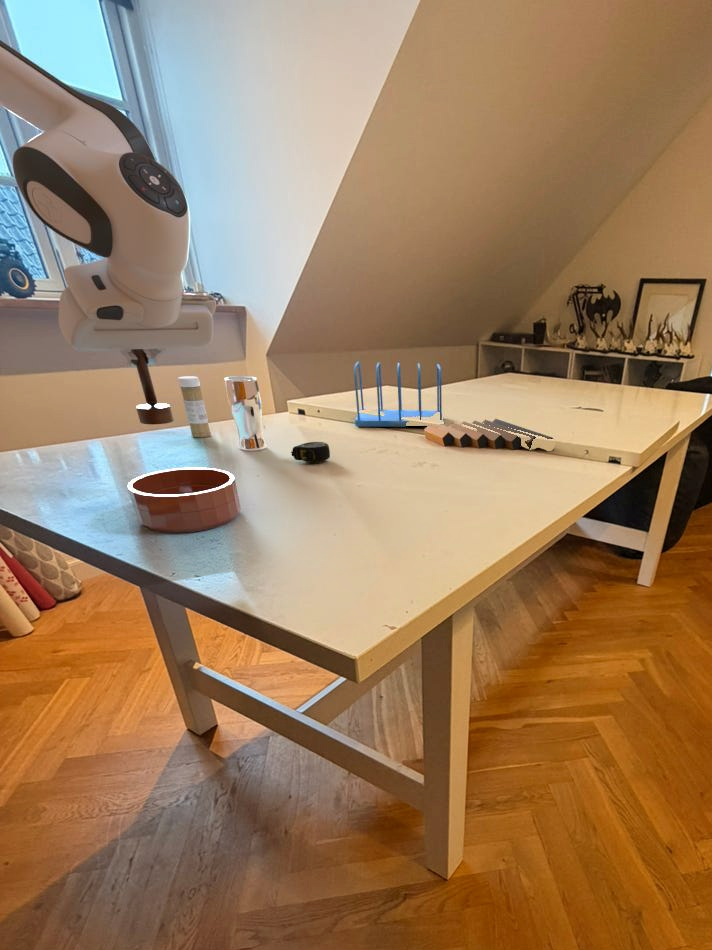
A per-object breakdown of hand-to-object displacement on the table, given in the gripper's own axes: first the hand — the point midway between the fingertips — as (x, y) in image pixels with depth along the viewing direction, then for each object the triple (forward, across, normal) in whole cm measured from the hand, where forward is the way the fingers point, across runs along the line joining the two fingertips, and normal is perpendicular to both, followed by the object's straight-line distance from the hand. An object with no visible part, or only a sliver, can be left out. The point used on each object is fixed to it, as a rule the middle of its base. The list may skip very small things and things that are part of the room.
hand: (139, 362), depth 86 cm
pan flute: (+9, -75, +22) cm, 79 cm away
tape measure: (+19, -31, +12) cm, 39 cm away
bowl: (+6, +3, +24) cm, 25 cm away
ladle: (+6, 0, +7) cm, 9 cm away
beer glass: (+32, -28, -1) cm, 42 cm away
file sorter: (+34, -75, -2) cm, 82 cm away
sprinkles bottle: (+45, -24, -14) cm, 53 cm away
